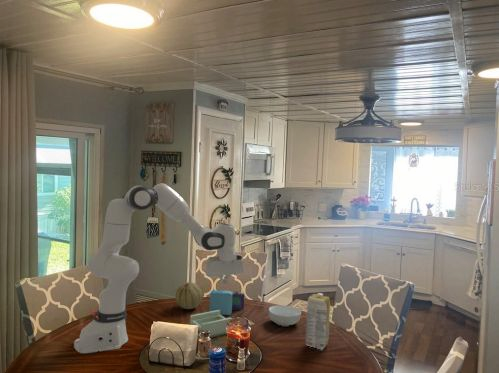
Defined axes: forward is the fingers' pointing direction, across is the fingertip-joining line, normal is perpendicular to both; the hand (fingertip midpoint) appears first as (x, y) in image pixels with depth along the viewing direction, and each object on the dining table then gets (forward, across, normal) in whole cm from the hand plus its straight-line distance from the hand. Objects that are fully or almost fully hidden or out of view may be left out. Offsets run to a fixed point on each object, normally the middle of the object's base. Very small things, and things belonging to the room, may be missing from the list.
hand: (224, 283), depth 198 cm
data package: (+22, +9, +17) cm, 29 cm away
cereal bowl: (+21, +31, -11) cm, 39 cm away
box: (+22, -7, -1) cm, 23 cm away
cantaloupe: (+22, -3, +32) cm, 39 cm away
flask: (+21, +20, +19) cm, 35 cm away
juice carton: (+22, +28, -39) cm, 52 cm away
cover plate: (+22, +9, -1) cm, 24 cm away
